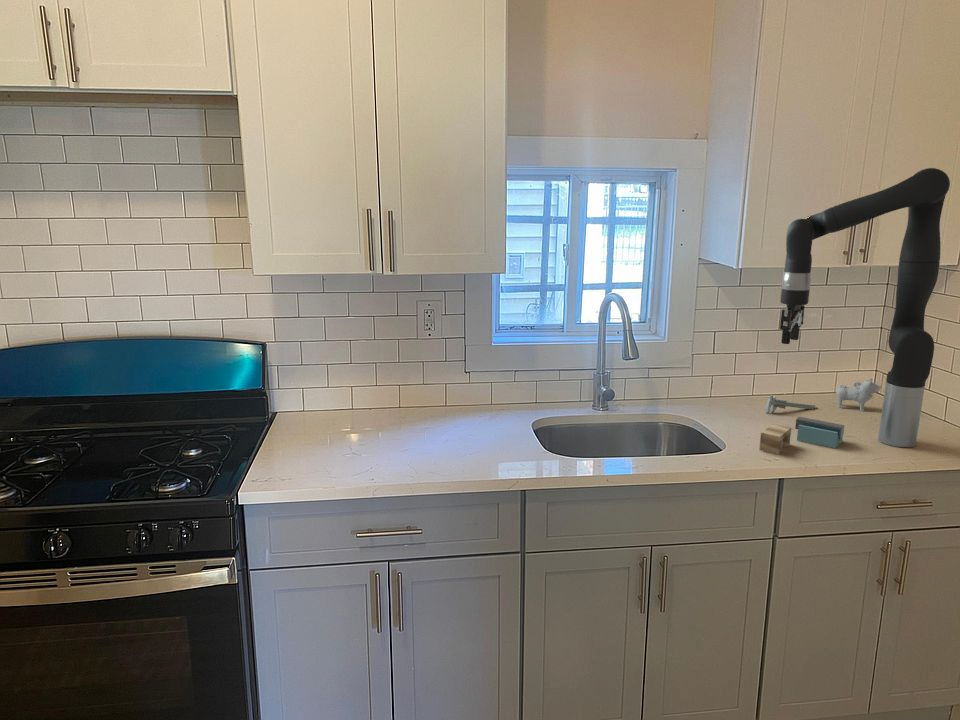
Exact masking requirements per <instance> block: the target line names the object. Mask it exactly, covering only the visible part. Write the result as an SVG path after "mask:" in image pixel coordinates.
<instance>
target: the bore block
mask: <svg viewBox="0 0 960 720" xmlns="http://www.w3.org/2000/svg"><path fill="white" fill-rule="evenodd" d="M791 434H792V427H789V426H786V425H785V426H784V425H780V424H774V423H773V424H771V425H770V426H768V427H766V428H765V429H764V430H763V431H761V432H760V438H759V451H762V450H763V452H766V451H767V453H772V454H775V453H776V455H779V454H781V452H782V449H783V446H784V448H787V447H789V446H790V444H791Z"/></svg>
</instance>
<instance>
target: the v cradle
mask: <svg viewBox="0 0 960 720" xmlns="http://www.w3.org/2000/svg"><path fill="white" fill-rule="evenodd" d="M837 434H838V432H834V431H829V430H824V429H819V428H814V427H809V426H803V425H799V426H798V429H797V436H796V441H797V440H799V441H798V442H802V441H803V443H807V442H808V443H807V444H812V443H813V445H816V444H819V445H818V446H821V445H824V446H823V447H826V446H828V447H827V448H831V447H832V449H836V448H837V447H838V446H839V445H840V444H841V443H842V442H843V438H844V435H843V436H842V437H841V438H838V435H837ZM841 441H842V442H841ZM840 442H841V443H840ZM839 443H840V444H839ZM838 444H839V445H838ZM837 445H838V446H837ZM836 446H837V447H836Z"/></svg>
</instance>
